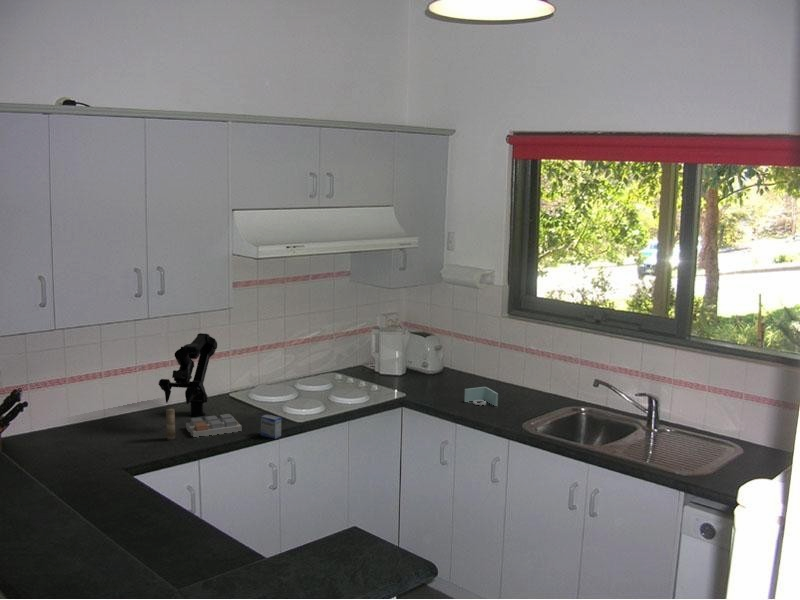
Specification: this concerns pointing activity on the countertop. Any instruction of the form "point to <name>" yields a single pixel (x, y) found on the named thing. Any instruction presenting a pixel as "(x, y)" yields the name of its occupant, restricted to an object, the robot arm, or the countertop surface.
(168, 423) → the tan banded cylinder
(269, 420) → the medicine box
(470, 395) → the l-shaped corner panel
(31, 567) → the countertop surface
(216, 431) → the keypad
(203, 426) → the terracotta key
